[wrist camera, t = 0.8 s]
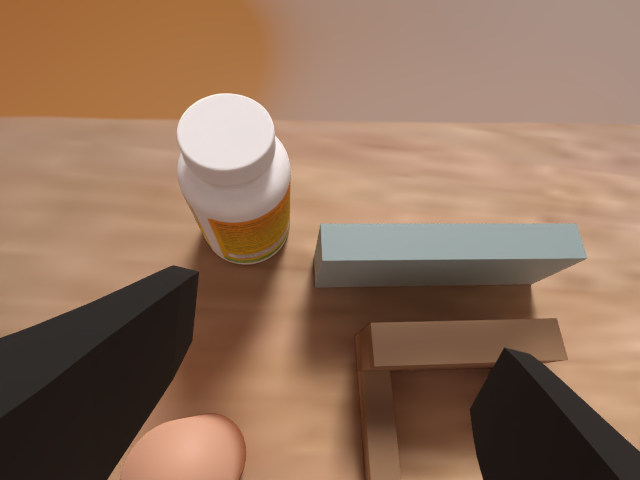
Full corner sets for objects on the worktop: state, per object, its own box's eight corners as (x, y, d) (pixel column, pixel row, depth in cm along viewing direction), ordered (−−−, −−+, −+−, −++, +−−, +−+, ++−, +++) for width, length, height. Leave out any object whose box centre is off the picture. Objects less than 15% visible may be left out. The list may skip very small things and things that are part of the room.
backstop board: (531, 284, 25) (587, 258, 20) (315, 287, 23) (322, 260, 19) (524, 255, 26) (576, 223, 21) (314, 256, 24) (320, 223, 20)
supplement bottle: (306, 220, 25) (317, 121, 16) (253, 283, 23) (234, 211, 14) (242, 176, 26) (219, 60, 17) (186, 234, 24) (128, 137, 15)
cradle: (540, 474, 21) (604, 493, 16) (365, 485, 20) (387, 508, 16) (508, 332, 23) (556, 318, 19) (355, 336, 23) (370, 322, 18)
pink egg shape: (217, 519, 19) (189, 570, 13) (149, 476, 19) (94, 507, 14) (260, 437, 20) (251, 452, 15) (196, 399, 21) (163, 399, 15)
